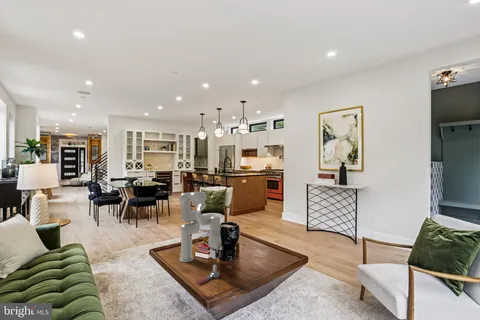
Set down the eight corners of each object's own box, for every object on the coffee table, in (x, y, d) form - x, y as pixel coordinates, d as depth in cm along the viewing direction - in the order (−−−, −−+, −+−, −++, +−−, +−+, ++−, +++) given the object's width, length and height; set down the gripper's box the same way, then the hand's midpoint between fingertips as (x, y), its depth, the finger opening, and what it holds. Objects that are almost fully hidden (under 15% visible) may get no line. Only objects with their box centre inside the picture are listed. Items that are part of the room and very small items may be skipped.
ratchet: (194, 282, 181) (194, 270, 180) (214, 273, 195) (215, 262, 195) (200, 285, 176) (200, 273, 176) (221, 276, 191) (221, 265, 190)
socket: (210, 257, 190) (210, 249, 190) (215, 255, 194) (215, 247, 194) (214, 258, 186) (214, 250, 186) (220, 256, 190) (220, 249, 190)
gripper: (204, 231, 193) (204, 254, 193) (219, 235, 182) (219, 260, 181) (211, 229, 199) (211, 252, 198) (226, 233, 187) (226, 257, 187)
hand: (215, 256), depth 190 cm, fingers closed on socket, 5 cm apart
